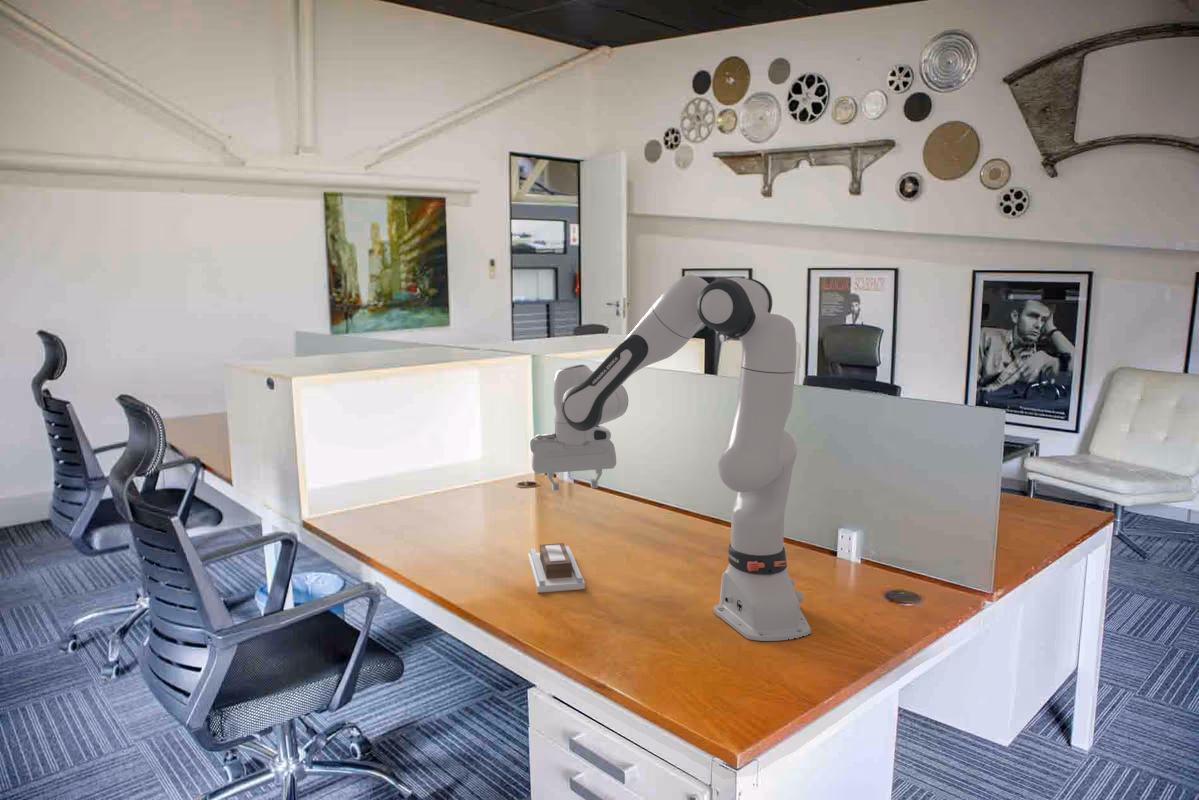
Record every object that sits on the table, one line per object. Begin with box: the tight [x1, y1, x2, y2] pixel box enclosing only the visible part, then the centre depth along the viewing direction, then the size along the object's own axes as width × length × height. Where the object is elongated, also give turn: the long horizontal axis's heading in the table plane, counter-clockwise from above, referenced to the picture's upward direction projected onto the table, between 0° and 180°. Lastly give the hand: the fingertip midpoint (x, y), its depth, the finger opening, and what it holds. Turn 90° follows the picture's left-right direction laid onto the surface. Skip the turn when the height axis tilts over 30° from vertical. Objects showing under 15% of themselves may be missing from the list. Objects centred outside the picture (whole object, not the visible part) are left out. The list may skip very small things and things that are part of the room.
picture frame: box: [539, 542, 572, 579], centre depth 198 cm, size 14×6×4 cm, turn 10°
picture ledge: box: [527, 545, 586, 594], centre depth 199 cm, size 22×11×3 cm, turn 10°
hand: (575, 488), depth 198 cm, fingers open, 8 cm apart
